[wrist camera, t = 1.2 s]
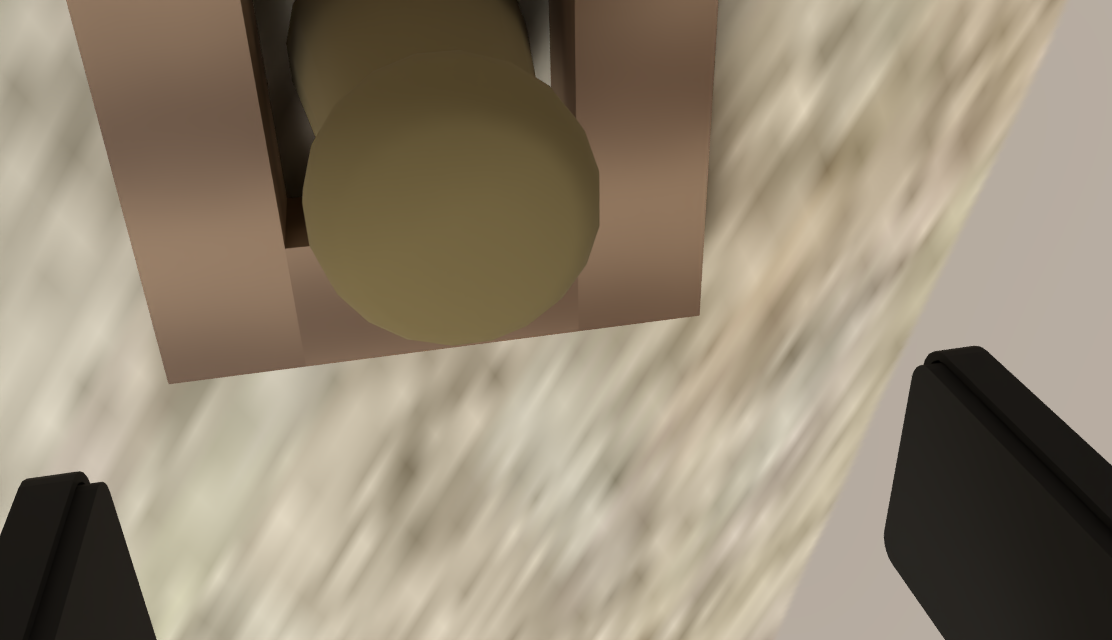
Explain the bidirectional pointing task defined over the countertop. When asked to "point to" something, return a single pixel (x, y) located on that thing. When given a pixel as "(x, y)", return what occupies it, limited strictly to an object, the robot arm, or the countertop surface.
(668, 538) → the countertop surface
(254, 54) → the socket block
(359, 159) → the cork
